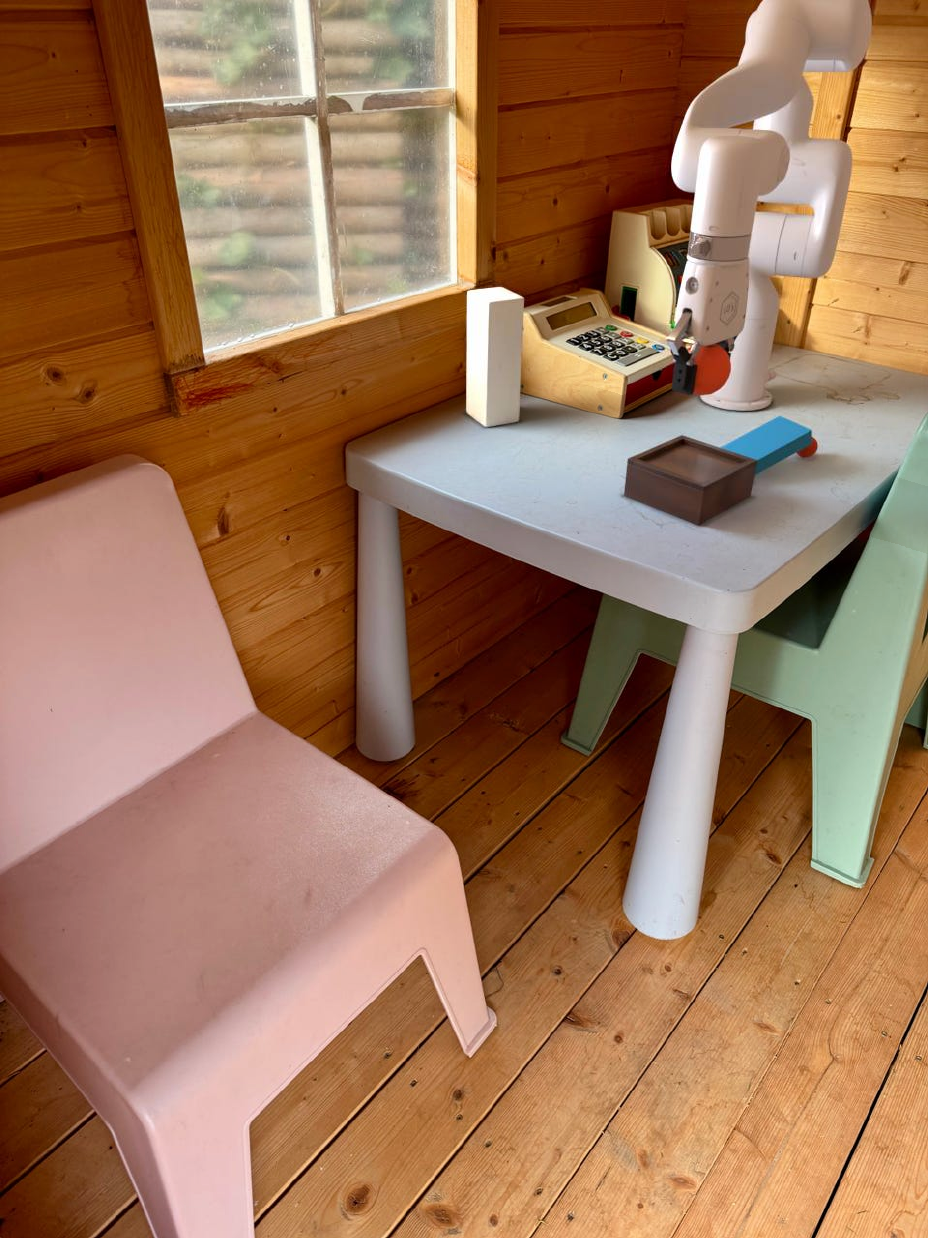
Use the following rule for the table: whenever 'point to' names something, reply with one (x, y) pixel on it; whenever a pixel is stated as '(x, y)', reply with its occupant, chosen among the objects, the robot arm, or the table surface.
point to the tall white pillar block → (494, 355)
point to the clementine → (711, 369)
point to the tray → (690, 479)
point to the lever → (774, 443)
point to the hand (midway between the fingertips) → (699, 384)
